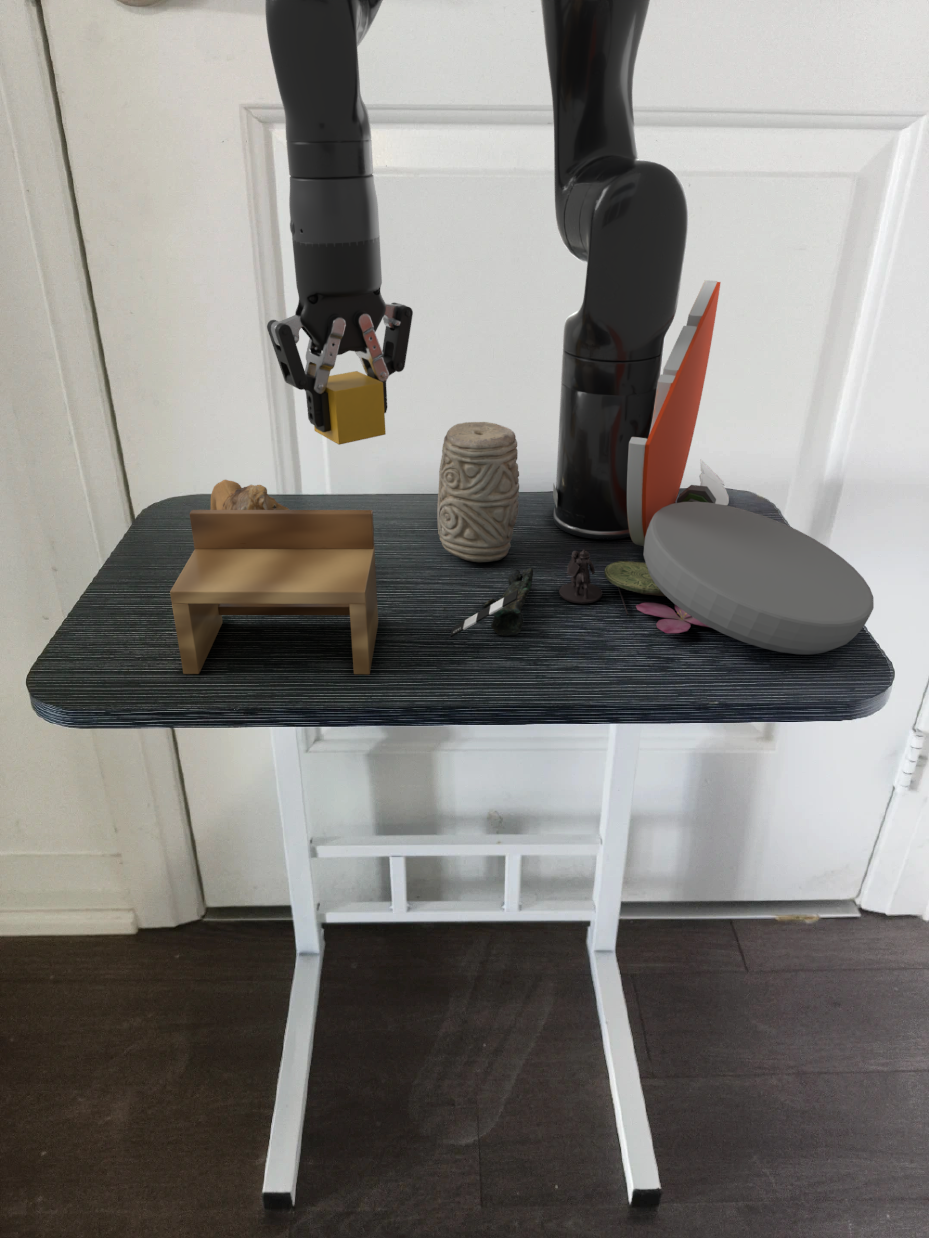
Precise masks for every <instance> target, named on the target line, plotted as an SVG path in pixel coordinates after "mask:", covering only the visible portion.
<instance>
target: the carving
mask: <svg viewBox="0 0 929 1238" xmlns="http://www.w3.org/2000/svg"><path fill="white" fill-rule="evenodd" d="M516 438H517V437H516V433H515V432H514V431H513V430H512V429H511V428H509V427H507V426H504V425H501V424H498V423H494V422H489V421H468V422H467V421H466V422H460V423H456V424H455V425H453V426H451V427H450V428H449V429H448V430H447V432H446V434H445V435H444V438H443V443H442V449H441V458H440V463H439V470H438V490H437V491H438V492H437V508H436V509H437V511H436V513H437V515H436V518H437V530H438V531H437V534H438V536H439V540H440V541H439V542H441V546H442V547H443V548H444V550H446V551H447V552H448V553H449V554H450V555H452V556H454V557H456V558H458V559H461V560H464V561H467V562H471V563H472V562H473V563H491V562H497V561H500V560H502V559H503V558H505V557H506V556H507V555H508V553H509V550H510V549H511V546H512V545H511V541H512V538H513V534H514V528H515V525H516V522H517V518H518V516H519V505H520V503H519V500H518V499H519V497H520V483H519V482H520V481H519V480H520V478H519V477H520V471H519V463H518V462H517V460H518V452H519V451H518V448H517V447H518V441H517V439H516Z"/></svg>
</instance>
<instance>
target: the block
mask: <svg viewBox="0 0 929 1238" xmlns="http://www.w3.org/2000/svg"><path fill="white" fill-rule="evenodd" d="M325 392H327V393H328V399H329V411H330V423H331V430H330V431H327V432H321V431H320V430H318V429H316V428H315V426H314V425H313V427H314V432H316V433H317V434H319V435H321V436H323V437H324V438H326V439H328V440H330V441H331V442H334V443H335V444H337V445H339V446H341V445H344V444H349V443H353V442H354V443H355V442H358V441H363V440H368V439H371V438H372V439H373V438H377V437H381V436H385V435H386V434H387V433H386V413H384V394H383V382H381V381H378V380H376V379H374V378H372V377H369V376H367V374H366V373H362V372H360V371H358V370H355V371H348V372H344V373H338V374H333V375H332V374H331V375H329V379H328V383H327V387H326V390H325Z"/></svg>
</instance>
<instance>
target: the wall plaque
mask: <svg viewBox="0 0 929 1238" xmlns="http://www.w3.org/2000/svg"><path fill="white" fill-rule="evenodd" d="M720 288H721V281H718V280H710V279H709V280H706V279H705V280H704V281H703V283H702V285H701V288H700V289H699V291H698V293H697V296H696V298H695V300H694V302H693V304H692V307H691V308H690V311H689V313H688V316H687V321H686V325H682V328H681V330H680V332H679V334H678V337H677V339H676V340H675V343H674V345H673V348H672V349H671V352H670V354H669V356H668V358H667V360H666V363H665V365H664V366H663V368H662V369H663V370H662V373H661V375H660V377H659V379H658V383H657V390H656V398H655V405H654V412H653V418H652V424H651V429H650V433H649V437H648V439H646V438H639V437H631V439H630V442H629V452H628V472H627V516H628V527H629V532H630V536H631V537H630V539H631V541H632V543H633V544H634V545H636V546H641V547H644V543H645V536H646V532H647V529H648V527H649V524H650V522H651V520H652V518H653V516H654V514H655V513H656V512H658V511H659V510H660V509H661V508H663V507H665V506H668V505H670V504H674V503H677V499H678V497H679V493H680V489H681V485H682V481H683V479H684V475H685V470H686V467H687V463H688V458H689V454H690V450H691V446H692V441H693V437H694V433H695V428H696V424H697V419H698V416H699V415H698V414H699V411H700V405H701V400H702V396H703V390H704V386H705V380H706V375H707V369H708V364H709V358H710V353H711V348H712V347H711V346H712V342H713V341H712V340H713V335H714V330H715V322H716V317H717V309H718V303H719V297H720Z"/></svg>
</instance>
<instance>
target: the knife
mask: <svg viewBox="0 0 929 1238" xmlns="http://www.w3.org/2000/svg"><path fill="white" fill-rule="evenodd" d="M699 461H700V462H699V463H700V472H701V473H700V474H699V476H698V477H699V482H700V485H698V484H690V485H689V486H687V487H686V488H685V489H684V490H682V491H681V492H680V493H679V494H678V496H677V499H676V503H680V502H707V503H715V504H721V505H727V506H729V503H730V501H729V500H730V496H729V493H728V491H727V489H726V487H725V482H724V480H723V479H722V478H721V477H720V476H719V475H718V474H716V472H715V471H714V470H713V469H712V468H710V466H709V465H707V463H706V462H704V460H702V459H700V460H699Z"/></svg>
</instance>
